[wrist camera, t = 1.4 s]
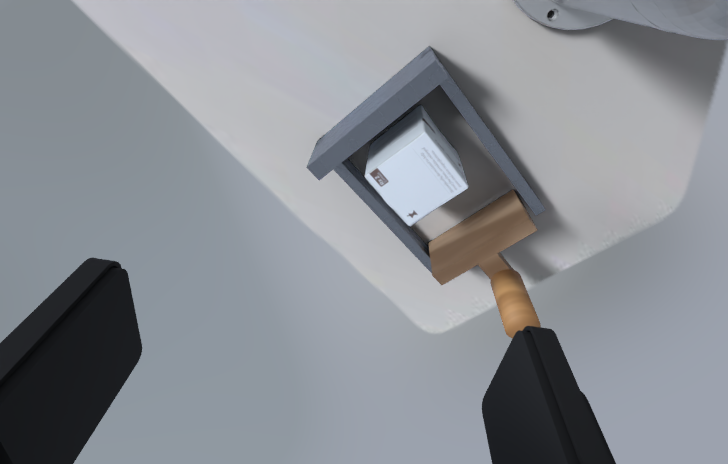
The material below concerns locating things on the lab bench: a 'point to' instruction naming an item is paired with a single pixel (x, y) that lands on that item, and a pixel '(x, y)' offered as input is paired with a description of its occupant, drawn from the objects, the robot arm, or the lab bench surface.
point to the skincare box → (415, 167)
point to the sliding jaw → (490, 256)
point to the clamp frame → (381, 113)
